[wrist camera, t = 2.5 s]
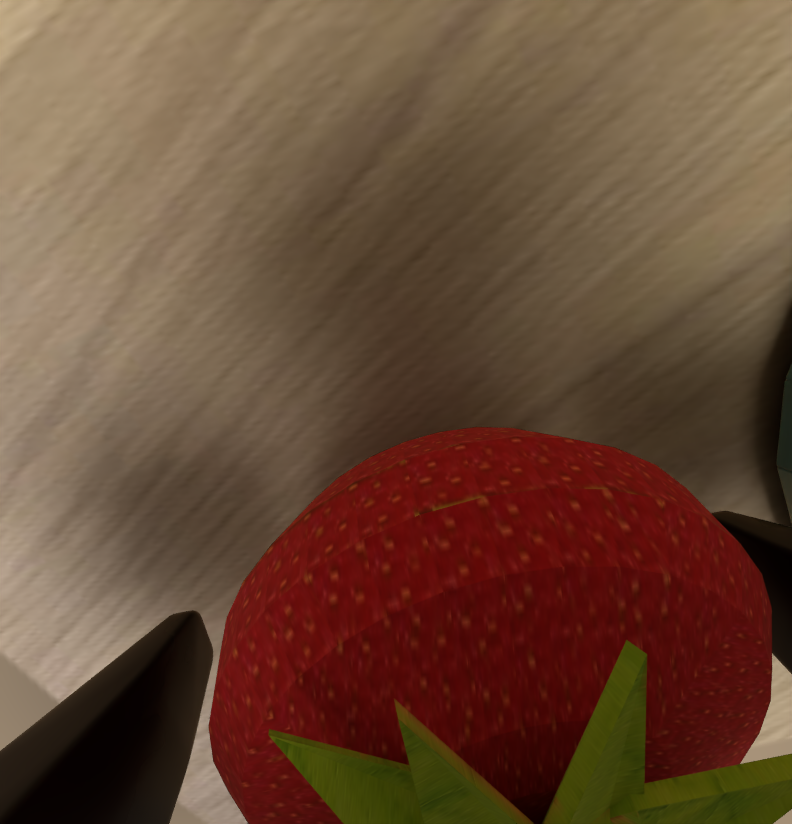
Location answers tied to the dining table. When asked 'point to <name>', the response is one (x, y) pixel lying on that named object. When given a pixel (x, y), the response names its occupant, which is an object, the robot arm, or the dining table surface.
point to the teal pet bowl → (786, 443)
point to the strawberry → (500, 648)
